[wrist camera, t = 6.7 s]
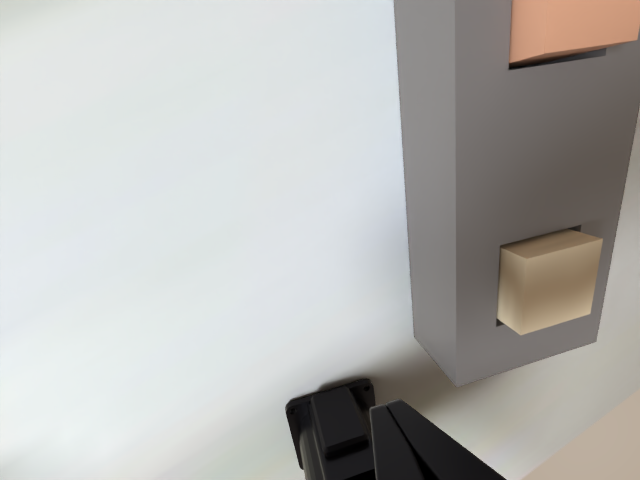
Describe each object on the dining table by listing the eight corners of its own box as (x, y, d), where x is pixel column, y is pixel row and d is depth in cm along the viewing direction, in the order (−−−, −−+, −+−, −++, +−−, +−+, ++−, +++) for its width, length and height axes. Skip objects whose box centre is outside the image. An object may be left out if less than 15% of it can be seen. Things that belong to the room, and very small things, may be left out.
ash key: (528, 282, 21) (590, 314, 17) (469, 298, 20) (520, 335, 16) (534, 219, 19) (602, 238, 16) (470, 234, 19) (526, 259, 15)
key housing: (530, 303, 25) (596, 341, 20) (414, 337, 23) (456, 387, 18) (567, -114, 16) (698, -215, 11) (387, -106, 14) (454, -219, 10)
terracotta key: (547, 62, 16) (637, 40, 13) (472, 73, 16) (543, 53, 12) (556, -43, 15) (661, -103, 11) (474, -36, 14) (555, -97, 10)
